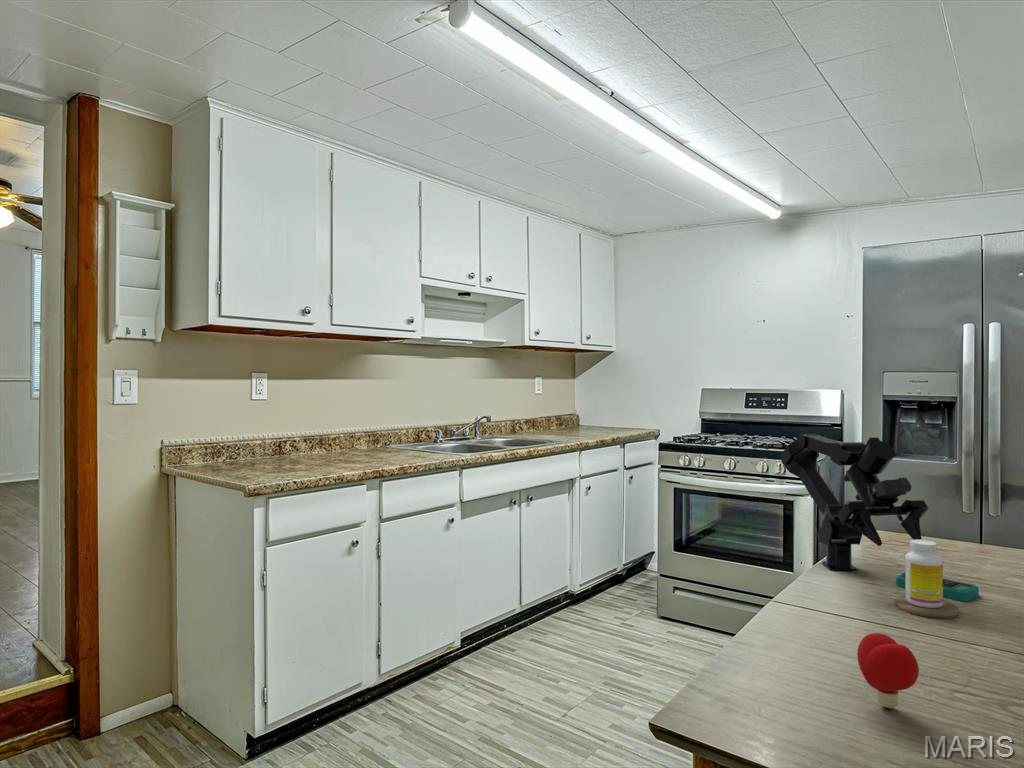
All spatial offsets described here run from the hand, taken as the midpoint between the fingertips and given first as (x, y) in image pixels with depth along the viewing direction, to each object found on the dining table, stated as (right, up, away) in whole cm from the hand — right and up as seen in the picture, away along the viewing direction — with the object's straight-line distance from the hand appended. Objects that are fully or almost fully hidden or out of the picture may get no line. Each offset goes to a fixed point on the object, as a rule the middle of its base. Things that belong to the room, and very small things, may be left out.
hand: (900, 544), depth 142 cm
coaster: (+1, -12, -7) cm, 14 cm away
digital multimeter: (+11, -12, +4) cm, 17 cm away
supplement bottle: (+1, -11, -7) cm, 13 cm away
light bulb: (-31, -12, -48) cm, 59 cm away
